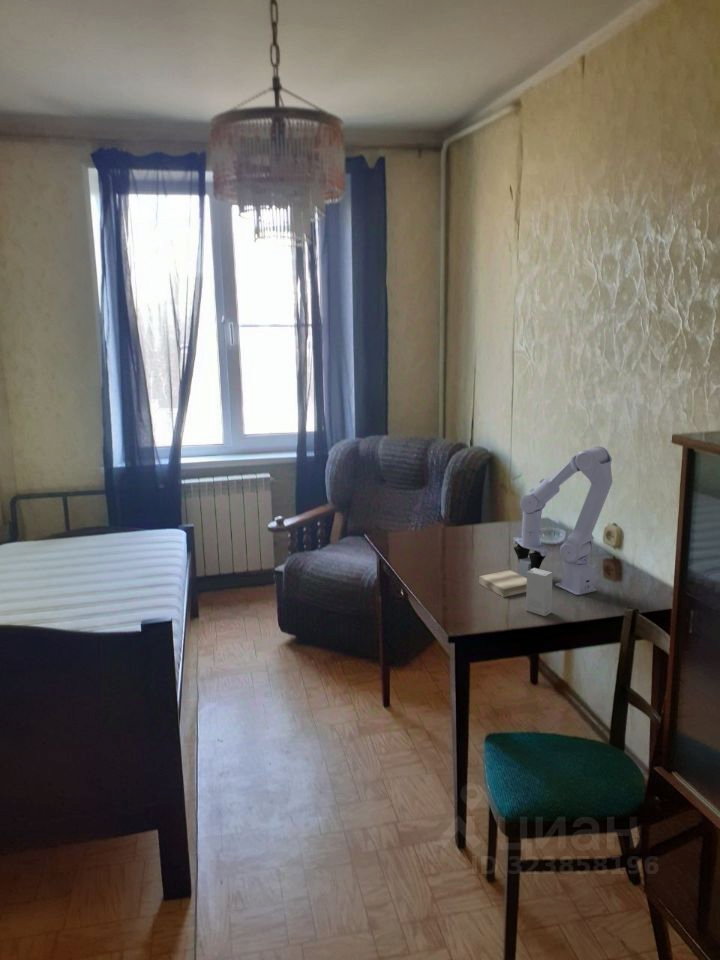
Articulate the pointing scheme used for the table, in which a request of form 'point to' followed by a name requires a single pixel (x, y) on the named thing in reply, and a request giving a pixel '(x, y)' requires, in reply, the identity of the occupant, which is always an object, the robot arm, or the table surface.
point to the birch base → (504, 583)
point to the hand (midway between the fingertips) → (528, 570)
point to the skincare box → (539, 591)
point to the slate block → (524, 566)
